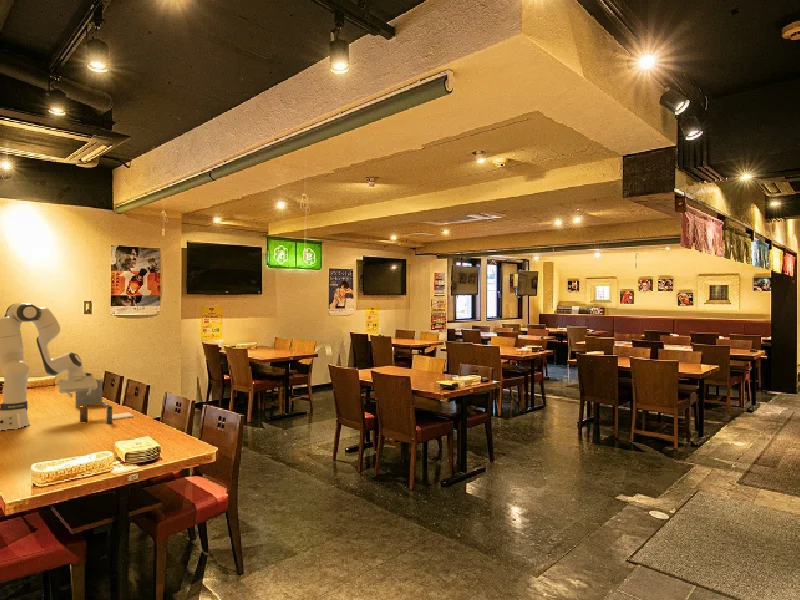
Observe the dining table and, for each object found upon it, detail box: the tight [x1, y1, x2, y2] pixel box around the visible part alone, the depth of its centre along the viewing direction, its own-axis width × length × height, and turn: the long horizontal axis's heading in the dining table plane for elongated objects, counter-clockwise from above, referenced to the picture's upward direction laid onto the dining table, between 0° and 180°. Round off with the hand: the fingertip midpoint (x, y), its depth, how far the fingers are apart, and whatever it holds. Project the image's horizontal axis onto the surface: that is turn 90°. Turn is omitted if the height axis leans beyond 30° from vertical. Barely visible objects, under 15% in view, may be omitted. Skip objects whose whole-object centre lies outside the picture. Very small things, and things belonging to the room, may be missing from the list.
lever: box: [100, 401, 113, 425], centre depth 310 cm, size 2×18×10 cm, turn 42°
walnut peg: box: [79, 406, 89, 423], centre depth 307 cm, size 4×4×9 cm
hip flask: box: [75, 378, 103, 408], centre depth 356 cm, size 16×4×20 cm, turn 130°
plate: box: [112, 411, 135, 421], centre depth 321 cm, size 12×12×1 cm
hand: (80, 395), depth 315 cm, fingers open, 8 cm apart
